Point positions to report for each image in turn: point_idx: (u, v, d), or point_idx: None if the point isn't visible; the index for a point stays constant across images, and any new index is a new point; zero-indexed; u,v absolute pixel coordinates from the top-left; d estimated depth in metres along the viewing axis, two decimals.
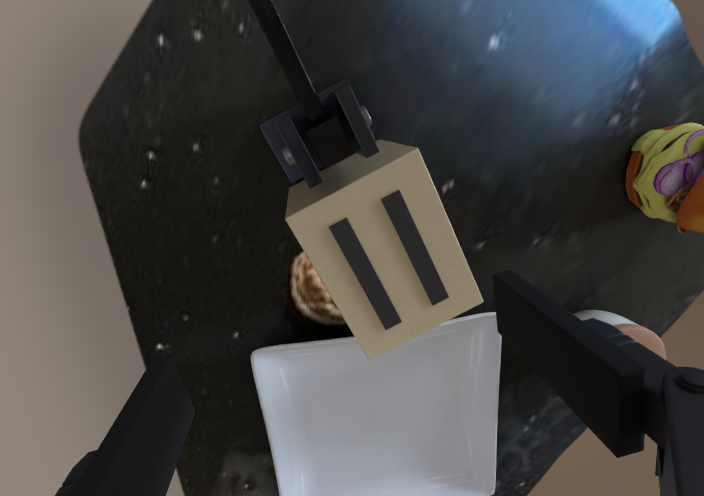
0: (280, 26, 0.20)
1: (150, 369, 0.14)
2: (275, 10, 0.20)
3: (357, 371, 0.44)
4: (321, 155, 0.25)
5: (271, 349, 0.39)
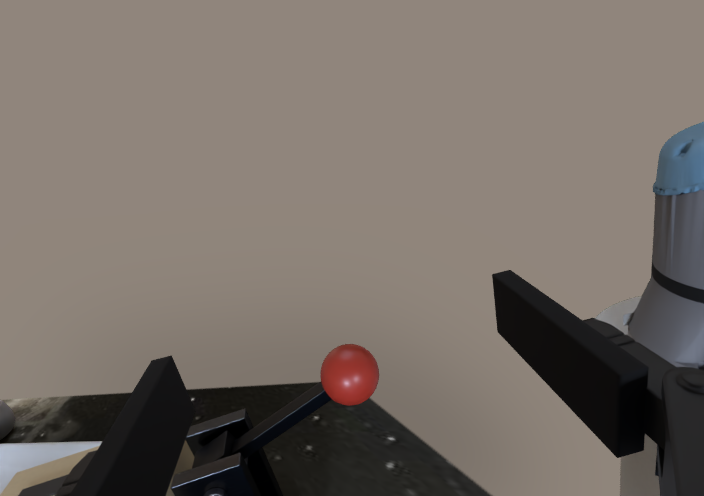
0: (296, 407, 0.26)
1: (150, 370, 0.14)
2: (305, 402, 0.26)
3: None
4: (206, 446, 0.27)
5: None
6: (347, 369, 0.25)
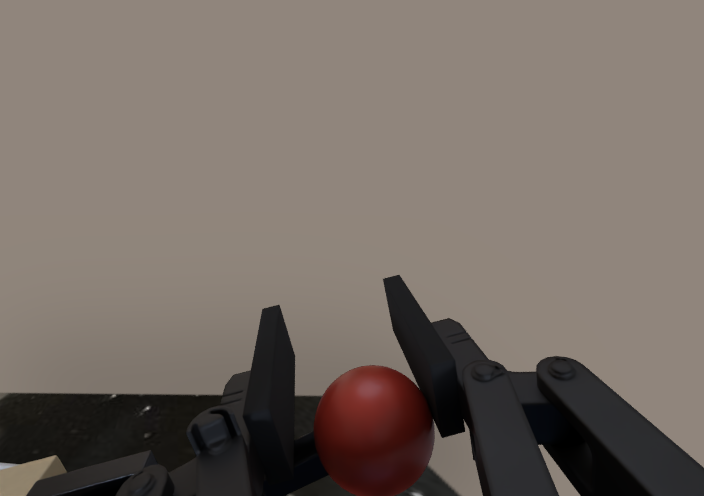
0: None
1: (266, 315, 0.16)
2: None
3: None
4: None
5: None
6: (377, 422, 0.11)
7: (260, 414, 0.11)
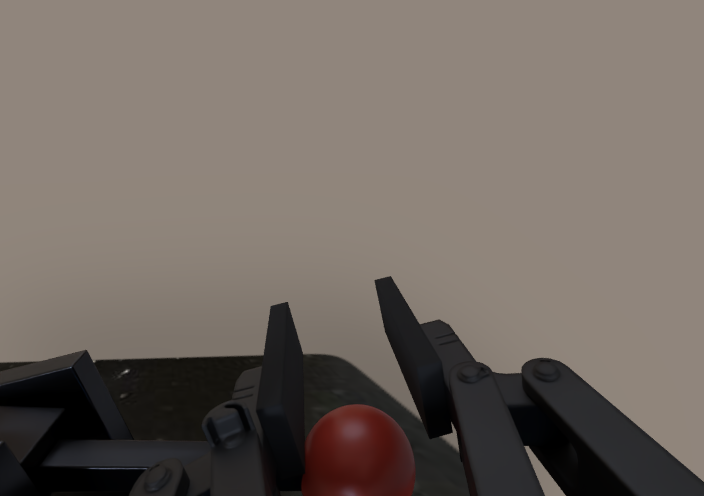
0: None
1: (274, 312, 0.16)
2: None
3: None
4: None
5: None
6: (384, 468, 0.12)
7: (273, 409, 0.11)
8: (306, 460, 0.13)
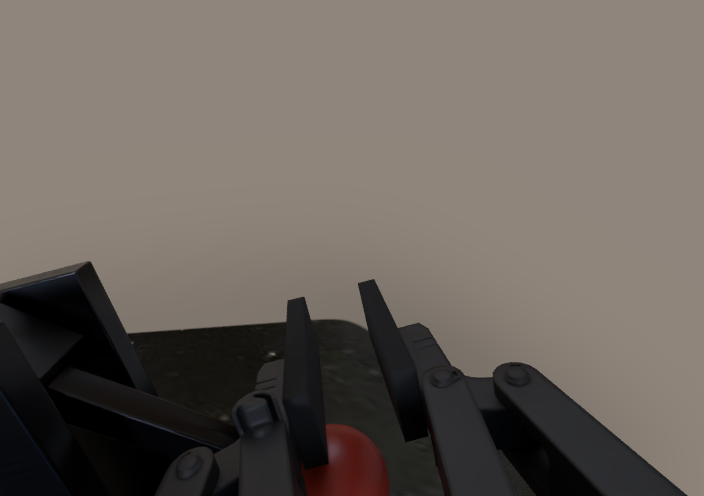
0: None
1: (291, 306, 0.16)
2: None
3: None
4: (17, 314, 0.11)
5: None
6: (370, 495, 0.12)
7: (299, 399, 0.11)
8: None
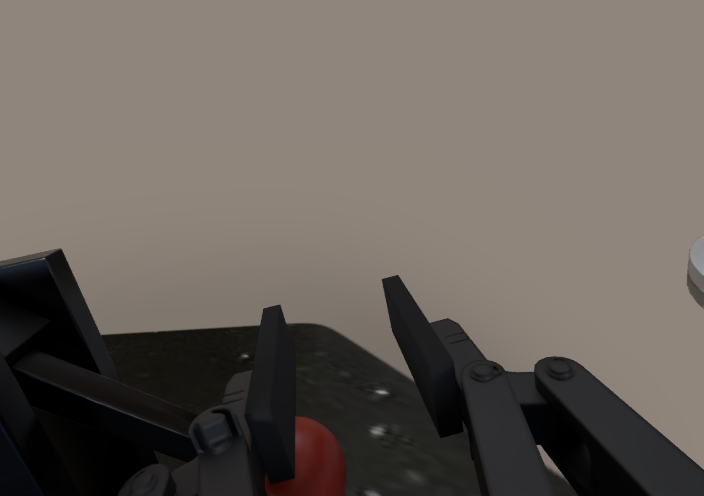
0: None
1: (267, 314, 0.16)
2: None
3: None
4: None
5: None
6: (326, 483, 0.13)
7: (261, 413, 0.11)
8: None
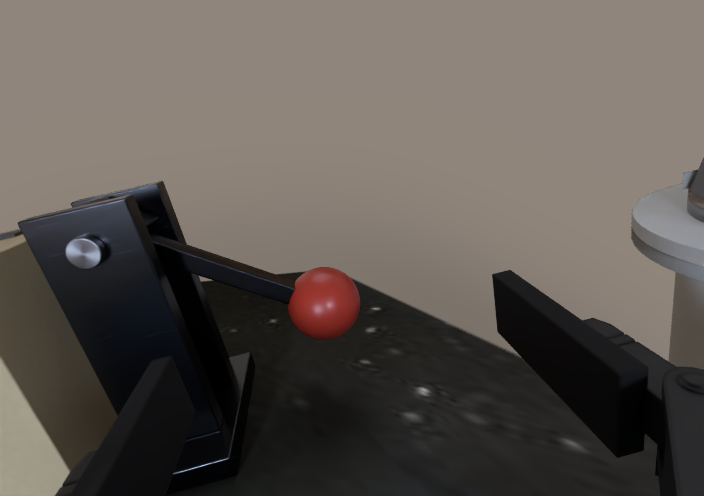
0: (254, 273, 0.20)
1: (151, 370, 0.14)
2: (267, 278, 0.20)
3: None
4: None
5: None
6: (343, 294, 0.20)
7: None
8: (297, 285, 0.21)
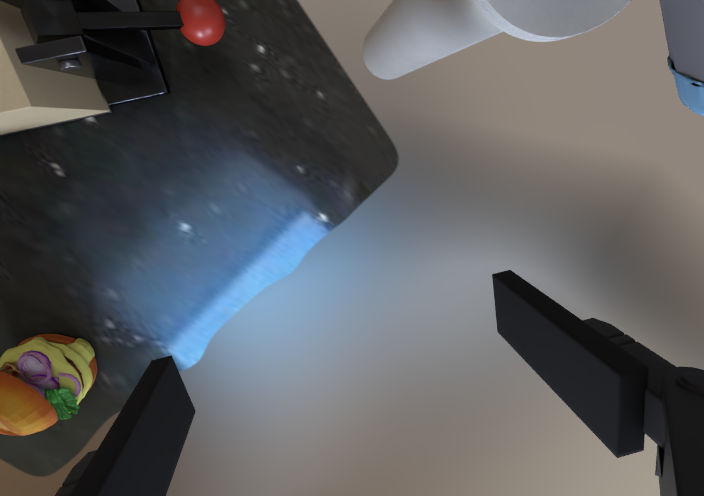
0: (155, 23, 0.31)
1: (150, 369, 0.14)
2: (165, 25, 0.31)
3: None
4: (41, 3, 0.26)
5: None
6: (216, 31, 0.33)
7: None
8: (184, 22, 0.32)
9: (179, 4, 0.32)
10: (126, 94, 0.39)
